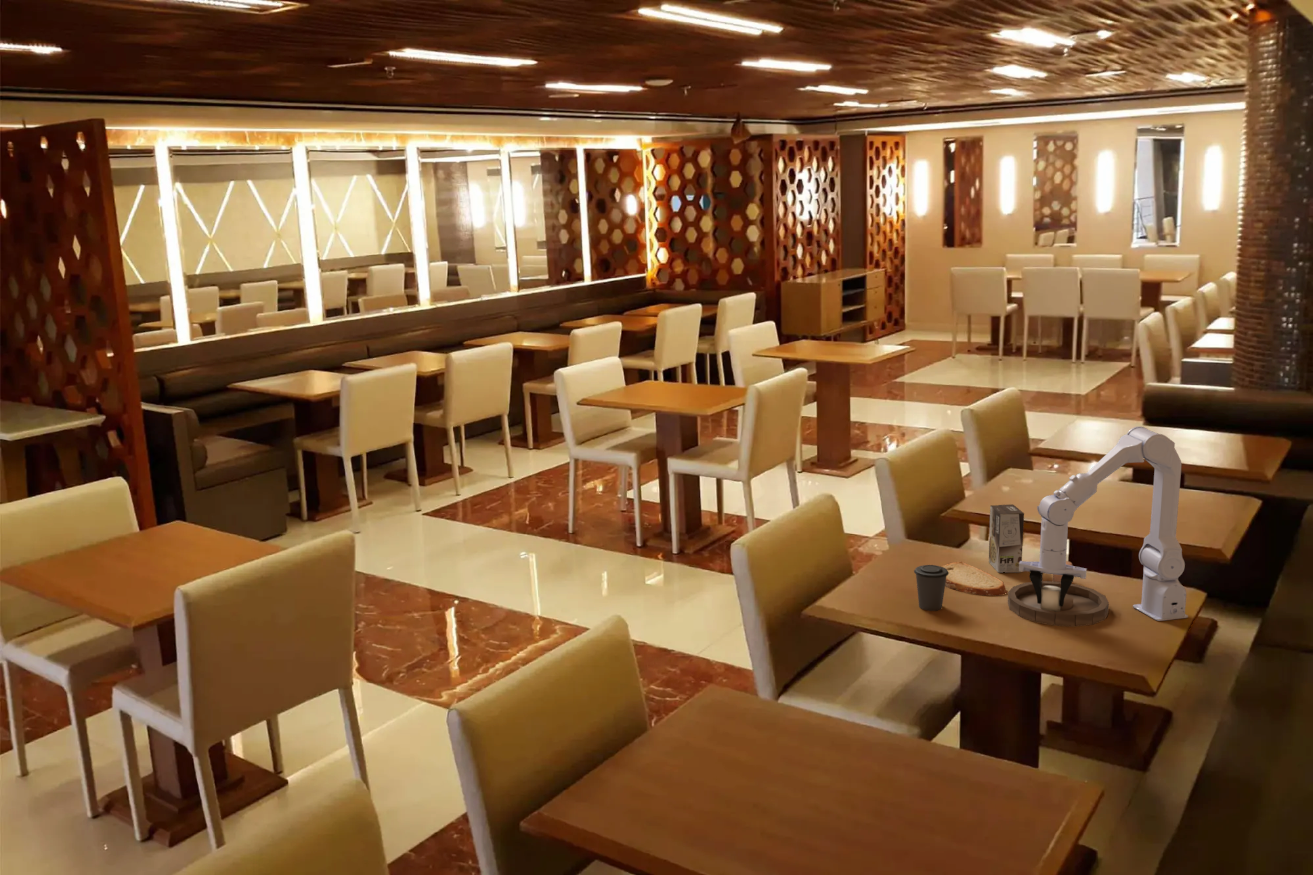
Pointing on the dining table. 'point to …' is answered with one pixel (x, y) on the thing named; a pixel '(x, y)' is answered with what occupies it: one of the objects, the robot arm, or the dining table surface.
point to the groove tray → (1076, 610)
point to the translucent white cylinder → (1050, 598)
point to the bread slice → (972, 580)
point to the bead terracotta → (1058, 577)
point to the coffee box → (1005, 537)
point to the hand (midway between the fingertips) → (1050, 603)
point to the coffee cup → (931, 586)
